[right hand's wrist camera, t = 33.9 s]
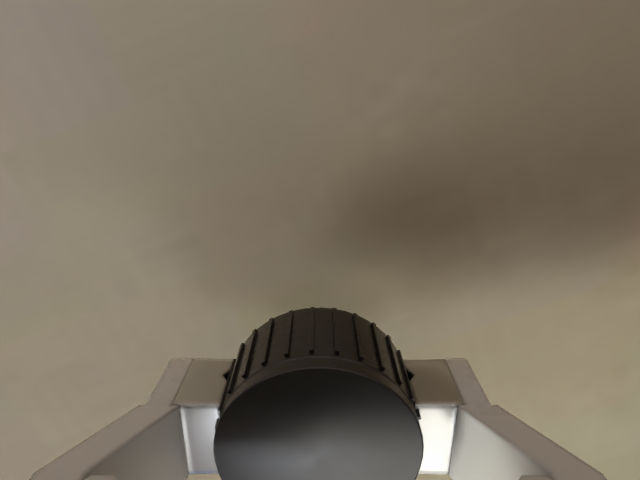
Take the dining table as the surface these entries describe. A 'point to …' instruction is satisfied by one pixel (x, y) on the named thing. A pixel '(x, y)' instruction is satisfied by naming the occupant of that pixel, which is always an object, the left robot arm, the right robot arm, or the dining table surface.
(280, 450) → the cap
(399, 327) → the dining table surface
